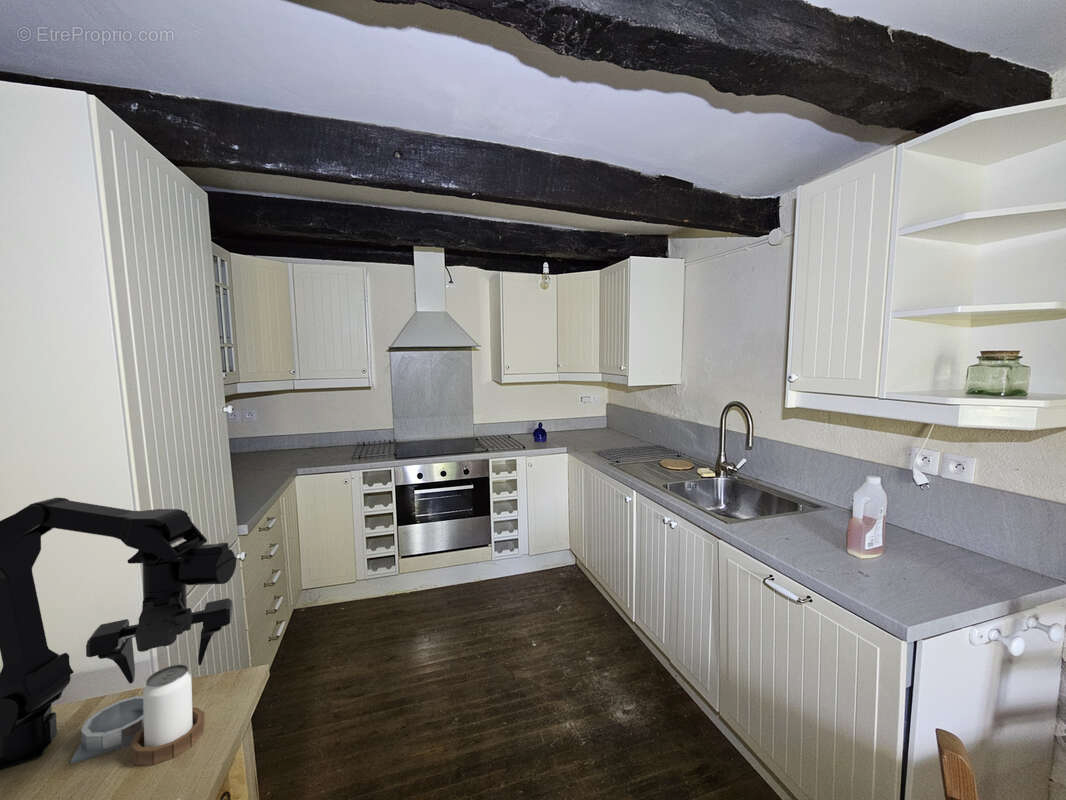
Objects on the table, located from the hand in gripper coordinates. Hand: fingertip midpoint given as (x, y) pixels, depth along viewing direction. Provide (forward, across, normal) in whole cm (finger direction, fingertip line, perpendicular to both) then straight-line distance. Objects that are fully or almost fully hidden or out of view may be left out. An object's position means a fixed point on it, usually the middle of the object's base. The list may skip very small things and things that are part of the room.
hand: (167, 672), depth 75 cm
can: (+13, 0, 0) cm, 13 cm away
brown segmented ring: (+12, 0, 0) cm, 12 cm away
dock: (+12, -8, +8) cm, 17 cm away
